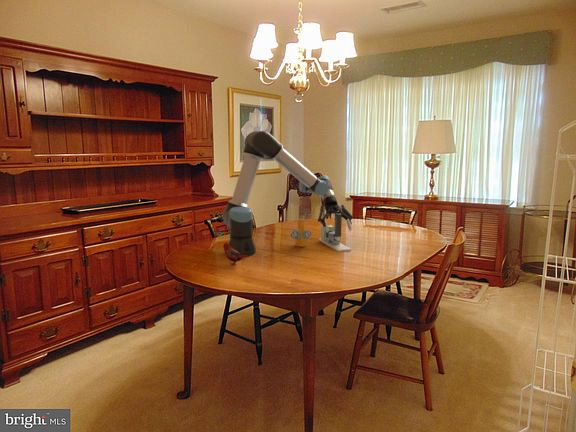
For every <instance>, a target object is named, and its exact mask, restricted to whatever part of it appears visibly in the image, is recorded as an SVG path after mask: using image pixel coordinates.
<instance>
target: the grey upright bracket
mask: <svg viewBox="0 0 576 432" xmlns="http://www.w3.org/2000/svg"><path fill="white" fill-rule="evenodd" d="M342 218H343V217H342V214H334V227H335V229H334V239H335V240H337V241H341V237H342ZM328 232H329V231H328ZM326 235H328V233H326Z"/></svg>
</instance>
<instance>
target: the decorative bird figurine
mask: <svg viewBox="0 0 576 432" xmlns="http://www.w3.org/2000/svg"><path fill="white" fill-rule="evenodd" d="M222 247H223V250H224V254H225V256H226V258H227V259H228V260H229V261H231V262H229V264H231V265H232V264H233V266H234V265H235V266H236V263H237V262H239V261H240V262H241V260H242V259H244V258H248V257H250V256H247V255H241V254H240V253H239V252H238V251H236V250H234V249H233V248H232V247H231V246H230V245H229V242H224V243H223V245H222Z"/></svg>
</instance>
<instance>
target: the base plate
mask: <svg viewBox="0 0 576 432" xmlns="http://www.w3.org/2000/svg"><path fill="white" fill-rule="evenodd" d="M318 241H319V242H321V243H322V244H324V245H326V246H328V247H329V248H331V249H332V250H334V251H336V253H342V252H344V253H345V252H351V251H352V248H350V247H348V246H346V245H345V244H343V243H342V242H340V244H339V245H332V243H329V242H328V241H323V240H322V239H321V238H319V239H318Z"/></svg>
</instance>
